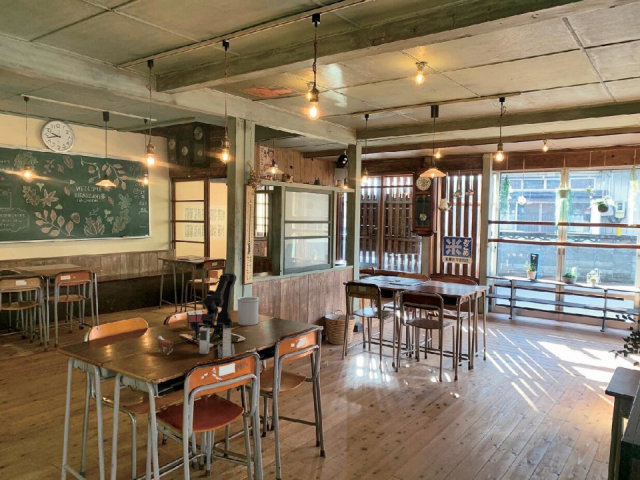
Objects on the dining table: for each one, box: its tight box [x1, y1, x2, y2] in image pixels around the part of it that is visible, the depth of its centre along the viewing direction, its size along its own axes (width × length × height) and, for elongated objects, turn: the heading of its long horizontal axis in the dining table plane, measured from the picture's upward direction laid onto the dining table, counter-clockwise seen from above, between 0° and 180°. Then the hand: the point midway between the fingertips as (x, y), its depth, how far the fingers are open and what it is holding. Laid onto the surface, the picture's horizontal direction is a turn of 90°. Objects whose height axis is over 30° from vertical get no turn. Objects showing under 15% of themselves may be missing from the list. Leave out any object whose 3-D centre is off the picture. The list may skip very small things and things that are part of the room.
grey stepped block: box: [217, 328, 236, 359], centre depth 253 cm, size 18×8×15 cm, turn 13°
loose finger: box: [199, 326, 211, 355], centre depth 253 cm, size 5×4×14 cm
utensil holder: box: [237, 296, 260, 326], centre depth 324 cm, size 15×15×18 cm
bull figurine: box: [155, 335, 174, 356], centre depth 251 cm, size 4×13×8 cm, turn 51°
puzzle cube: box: [185, 310, 204, 331], centre depth 306 cm, size 10×10×10 cm
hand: (203, 340), depth 252 cm, fingers open, 8 cm apart
